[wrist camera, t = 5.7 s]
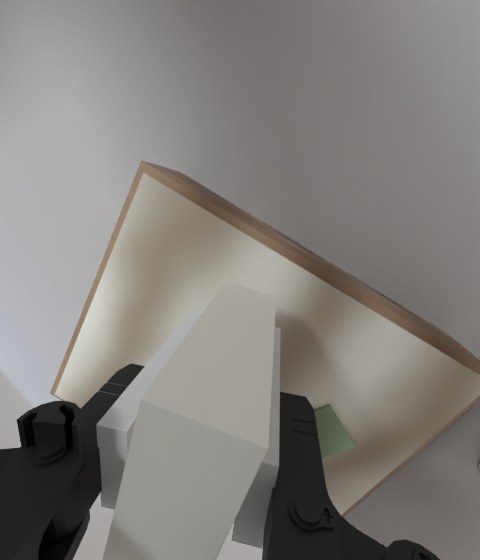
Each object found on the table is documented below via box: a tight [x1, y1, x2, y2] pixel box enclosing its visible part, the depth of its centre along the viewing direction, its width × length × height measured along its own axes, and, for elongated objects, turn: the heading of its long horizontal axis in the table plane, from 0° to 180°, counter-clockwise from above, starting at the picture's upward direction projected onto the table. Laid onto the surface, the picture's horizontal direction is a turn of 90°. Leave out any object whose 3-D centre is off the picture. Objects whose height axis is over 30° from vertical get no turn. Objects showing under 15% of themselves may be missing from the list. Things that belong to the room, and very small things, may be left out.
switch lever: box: [103, 280, 276, 560], centre depth 10 cm, size 2×13×9 cm, turn 162°
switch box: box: [50, 161, 480, 517], centre depth 17 cm, size 20×16×5 cm
